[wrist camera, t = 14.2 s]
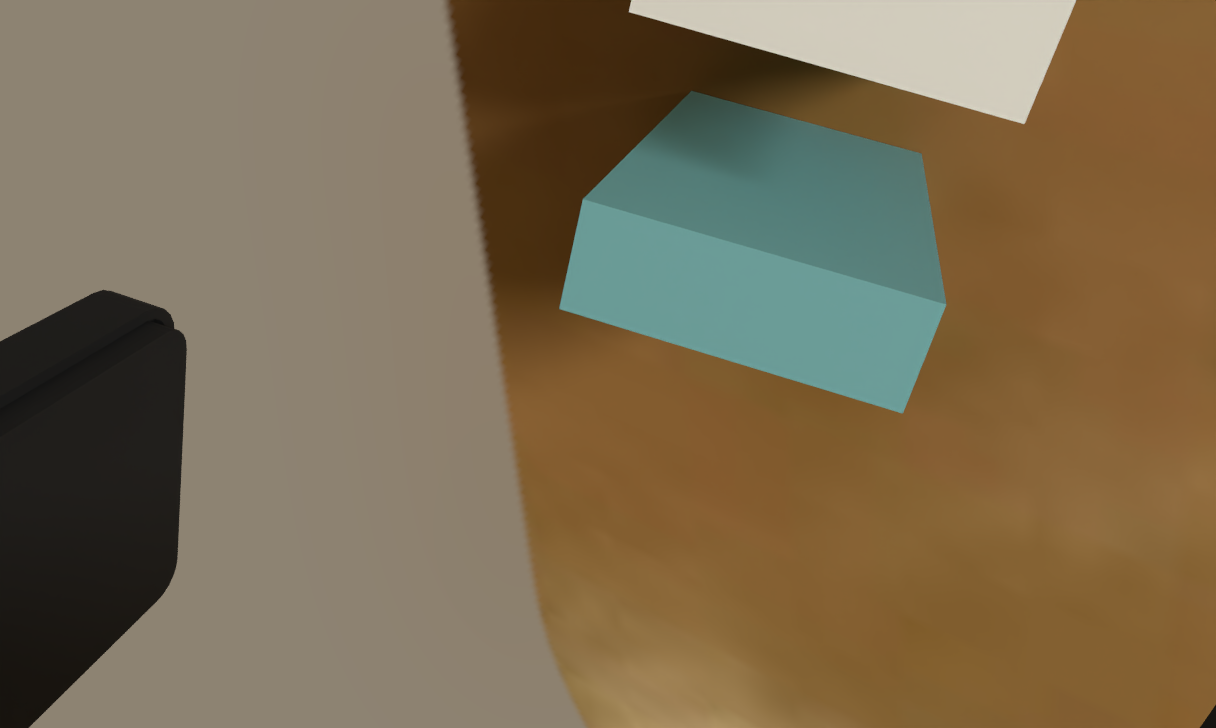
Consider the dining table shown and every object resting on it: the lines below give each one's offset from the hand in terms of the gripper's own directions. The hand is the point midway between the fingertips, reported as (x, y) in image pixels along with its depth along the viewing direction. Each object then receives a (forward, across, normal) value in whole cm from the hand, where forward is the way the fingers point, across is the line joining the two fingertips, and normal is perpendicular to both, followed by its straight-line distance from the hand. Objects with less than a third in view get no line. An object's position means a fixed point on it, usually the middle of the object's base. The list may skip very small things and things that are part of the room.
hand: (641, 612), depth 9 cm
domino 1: (+20, 0, -4) cm, 20 cm away
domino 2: (+20, 0, +1) cm, 20 cm away
